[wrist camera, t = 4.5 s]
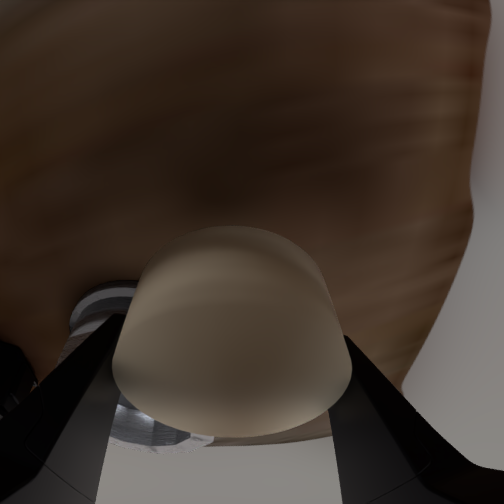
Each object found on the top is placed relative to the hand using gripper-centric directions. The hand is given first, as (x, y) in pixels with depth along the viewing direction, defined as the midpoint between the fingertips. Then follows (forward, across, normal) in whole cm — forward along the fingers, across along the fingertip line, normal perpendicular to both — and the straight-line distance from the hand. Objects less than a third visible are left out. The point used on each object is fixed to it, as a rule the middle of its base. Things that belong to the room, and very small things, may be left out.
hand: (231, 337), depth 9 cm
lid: (+1, 0, 0) cm, 1 cm away
